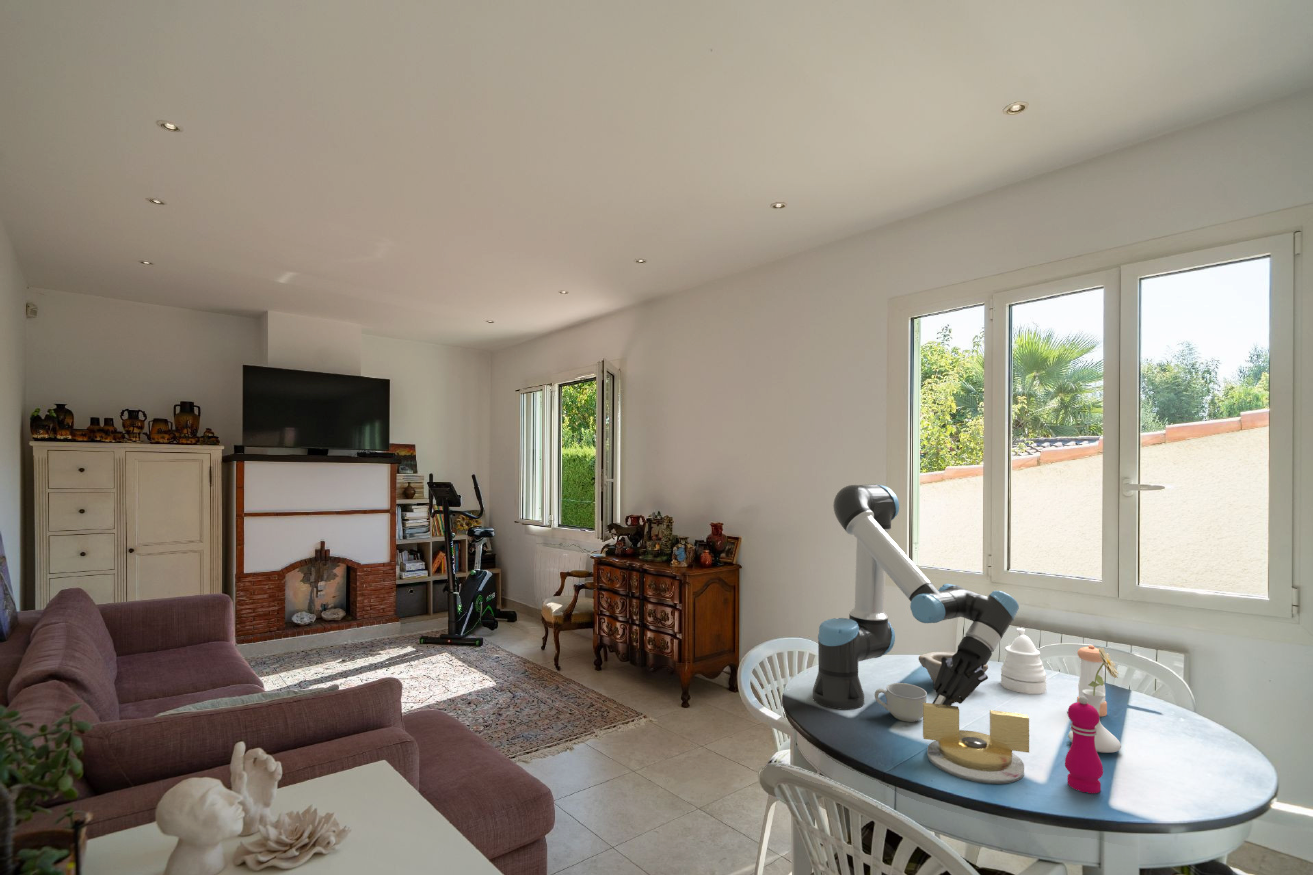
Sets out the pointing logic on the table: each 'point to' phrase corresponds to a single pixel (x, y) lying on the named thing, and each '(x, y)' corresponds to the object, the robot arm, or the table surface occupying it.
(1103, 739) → the flower in vase
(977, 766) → the gold twin-plate stand
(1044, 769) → the table surface
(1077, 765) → the pepper mill
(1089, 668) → the salt shaker
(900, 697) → the teacup
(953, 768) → the silver round plate
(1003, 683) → the honey pot
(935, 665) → the mortar
